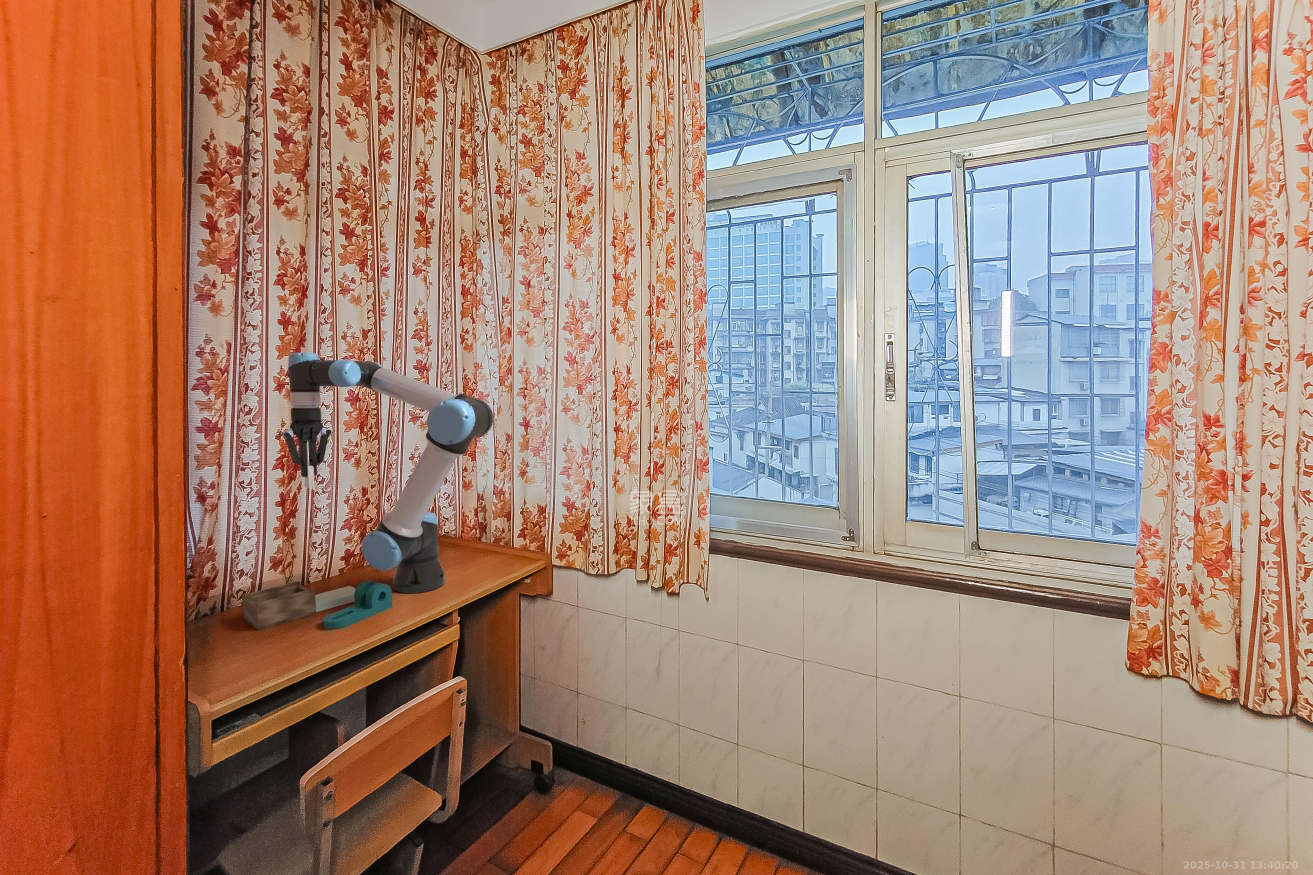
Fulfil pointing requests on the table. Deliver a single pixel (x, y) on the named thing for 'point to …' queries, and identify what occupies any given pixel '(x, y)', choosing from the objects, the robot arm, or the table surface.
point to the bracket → (361, 605)
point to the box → (278, 605)
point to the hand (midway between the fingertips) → (309, 487)
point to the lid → (334, 598)
